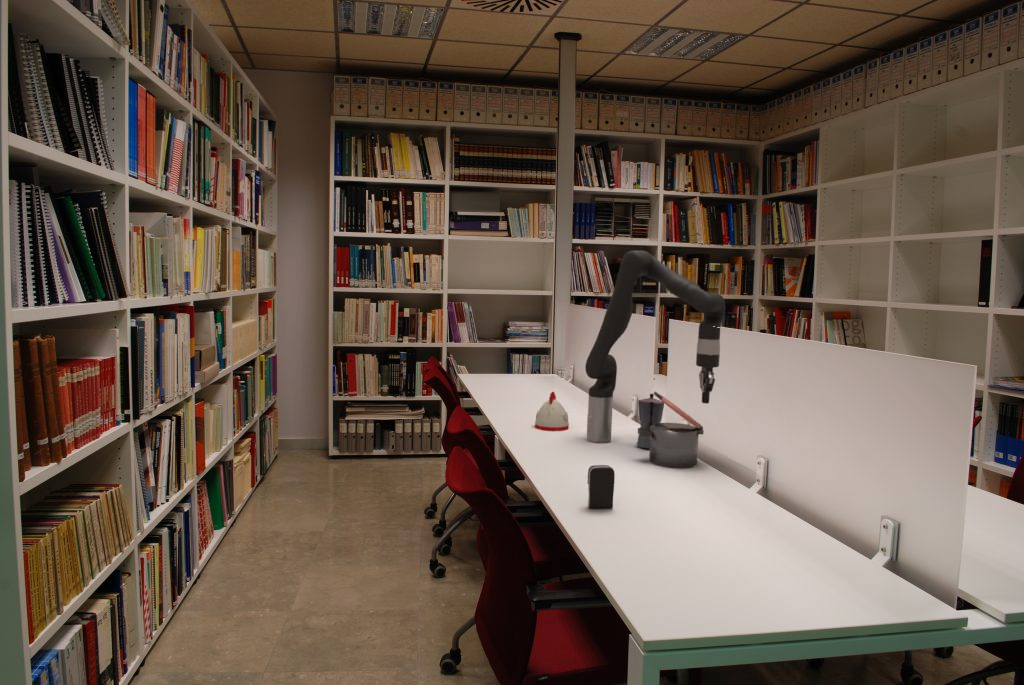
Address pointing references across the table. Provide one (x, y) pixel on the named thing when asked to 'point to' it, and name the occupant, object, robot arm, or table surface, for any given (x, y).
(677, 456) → the cooker pot
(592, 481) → the battery charger
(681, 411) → the lid
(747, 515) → the table surface
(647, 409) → the moka pot
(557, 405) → the kitchen timer
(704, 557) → the table surface
